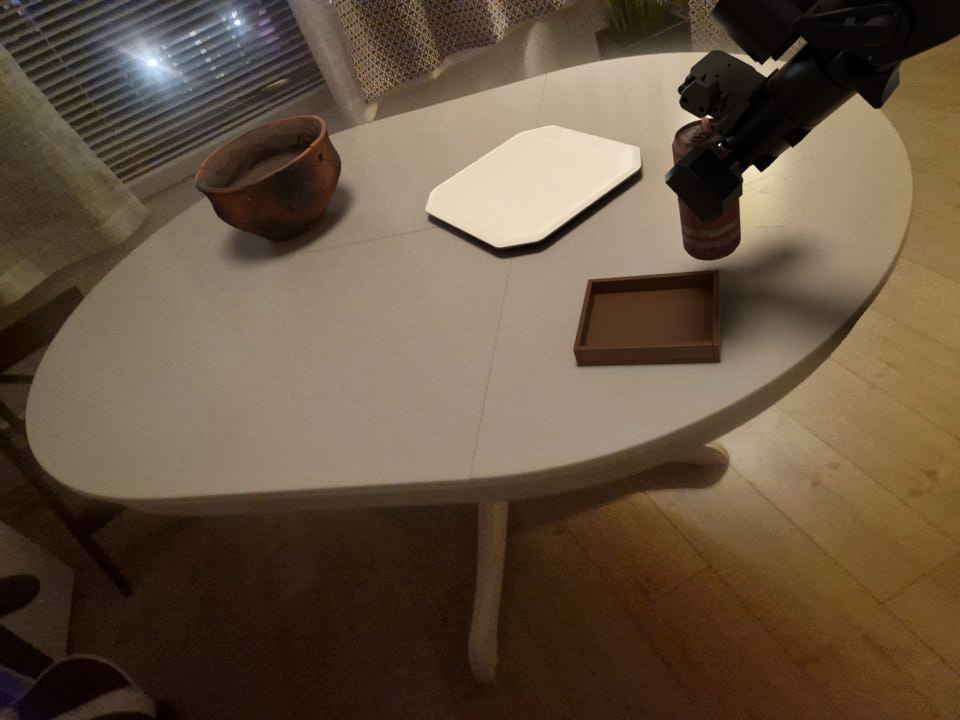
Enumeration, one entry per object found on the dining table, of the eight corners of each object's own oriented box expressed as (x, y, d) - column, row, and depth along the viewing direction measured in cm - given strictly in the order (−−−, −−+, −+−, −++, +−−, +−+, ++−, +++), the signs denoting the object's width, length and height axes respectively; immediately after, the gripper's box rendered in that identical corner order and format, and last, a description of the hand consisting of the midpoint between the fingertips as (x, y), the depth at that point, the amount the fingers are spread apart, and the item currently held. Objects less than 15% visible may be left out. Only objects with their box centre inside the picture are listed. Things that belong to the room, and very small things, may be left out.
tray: (720, 286, 76) (719, 269, 74) (720, 362, 68) (718, 344, 66) (591, 295, 81) (588, 279, 80) (577, 365, 73) (572, 349, 72)
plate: (415, 213, 110) (410, 202, 109) (540, 130, 118) (537, 119, 116) (520, 268, 90) (516, 256, 88) (663, 164, 98) (661, 150, 96)
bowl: (370, 225, 112) (331, 145, 102) (239, 281, 112) (187, 207, 102) (352, 170, 131) (318, 98, 121) (240, 218, 131) (196, 151, 121)
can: (735, 224, 75) (729, 108, 65) (745, 256, 70) (740, 137, 61) (680, 234, 76) (667, 123, 67) (687, 266, 72) (674, 152, 63)
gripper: (790, -20, 58) (693, 91, 73) (671, 79, 52) (590, 180, 66) (876, 70, 58) (761, 163, 73) (767, 181, 52) (665, 259, 66)
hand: (696, 188), depth 70 cm, fingers closed on can, 5 cm apart
